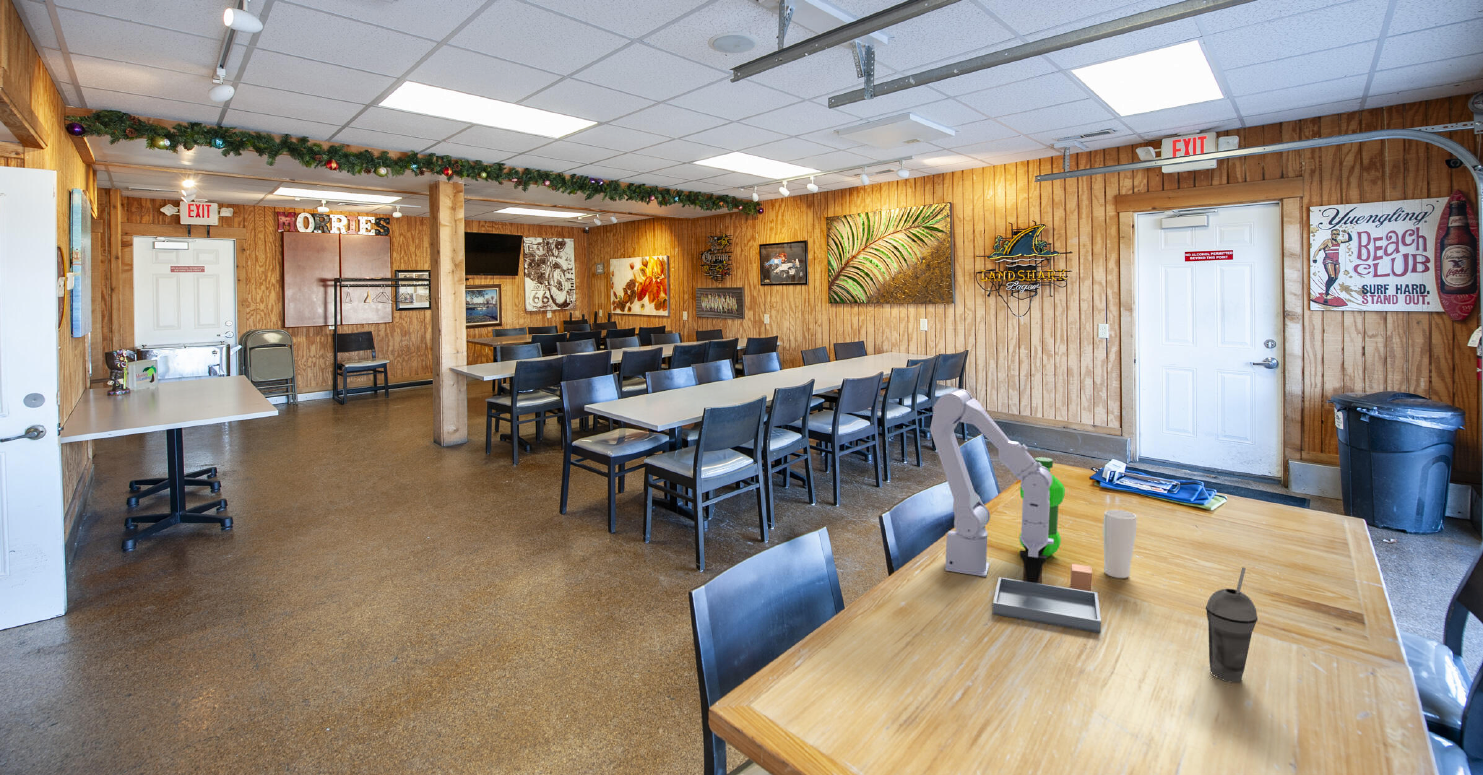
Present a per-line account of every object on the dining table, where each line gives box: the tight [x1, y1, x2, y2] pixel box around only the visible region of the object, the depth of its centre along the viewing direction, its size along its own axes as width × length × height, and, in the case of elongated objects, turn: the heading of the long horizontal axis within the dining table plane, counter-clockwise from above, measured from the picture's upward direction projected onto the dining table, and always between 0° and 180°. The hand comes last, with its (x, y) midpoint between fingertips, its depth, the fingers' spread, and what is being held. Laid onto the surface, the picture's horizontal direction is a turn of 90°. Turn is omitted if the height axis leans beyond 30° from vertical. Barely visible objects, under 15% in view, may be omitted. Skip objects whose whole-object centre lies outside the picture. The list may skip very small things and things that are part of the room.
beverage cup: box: [1205, 567, 1258, 683], centre depth 115 cm, size 7×7×20 cm
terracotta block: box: [1070, 563, 1093, 592], centre depth 150 cm, size 4×4×5 cm
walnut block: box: [1022, 565, 1044, 584], centre depth 154 cm, size 4×4×5 cm
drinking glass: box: [1102, 509, 1138, 579], centre depth 157 cm, size 7×7×15 cm
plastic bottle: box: [1018, 456, 1066, 558], centre depth 170 cm, size 10×10×25 cm
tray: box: [992, 576, 1102, 634], centre depth 141 cm, size 20×14×2 cm
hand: (1032, 575), depth 155 cm, fingers open, 7 cm apart
